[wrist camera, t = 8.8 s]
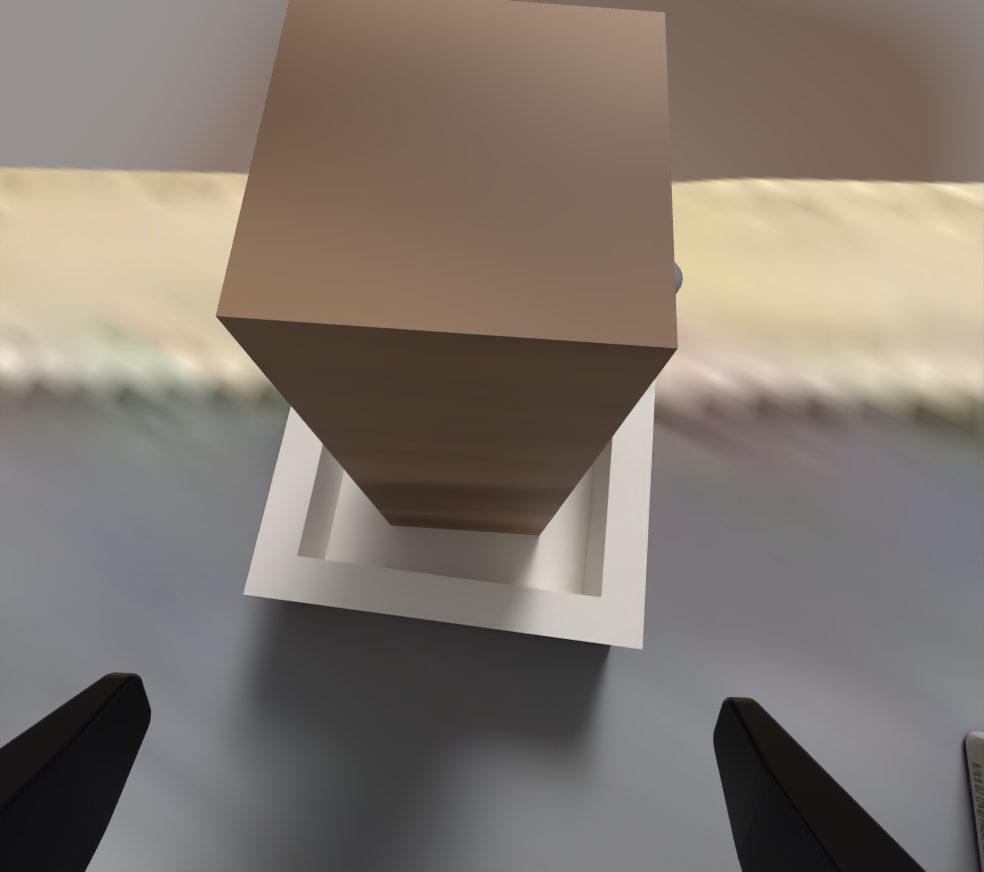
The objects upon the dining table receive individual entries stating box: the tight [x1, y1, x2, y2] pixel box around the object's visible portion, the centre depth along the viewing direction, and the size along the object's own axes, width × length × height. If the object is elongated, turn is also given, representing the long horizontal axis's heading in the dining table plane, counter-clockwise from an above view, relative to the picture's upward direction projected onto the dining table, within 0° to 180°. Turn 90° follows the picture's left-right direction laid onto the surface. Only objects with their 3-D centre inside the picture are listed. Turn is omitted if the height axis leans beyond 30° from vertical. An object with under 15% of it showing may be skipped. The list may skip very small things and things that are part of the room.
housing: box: [244, 262, 683, 649], centre depth 18 cm, size 11×11×6 cm
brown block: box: [216, 0, 678, 535], centre depth 14 cm, size 5×5×14 cm
